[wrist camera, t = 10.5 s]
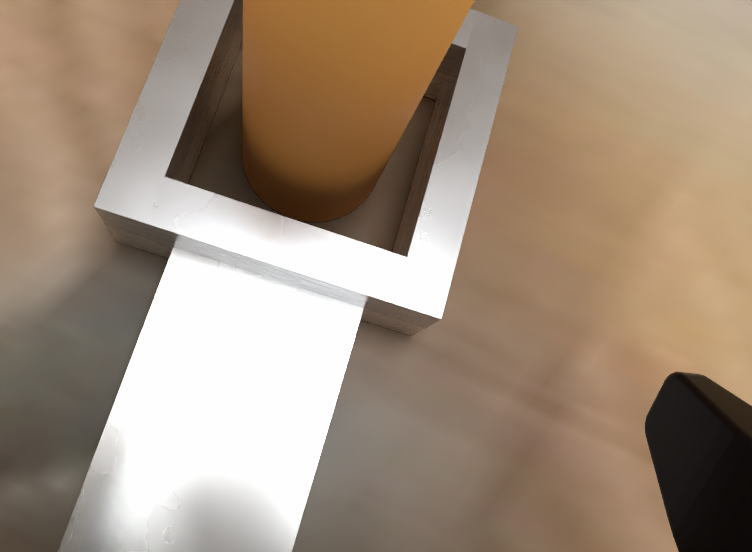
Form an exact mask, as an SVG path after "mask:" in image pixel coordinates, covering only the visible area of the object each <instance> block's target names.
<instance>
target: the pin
mask: <svg viewBox="0 0 752 552" xmlns="http://www.w3.org/2000/svg"><path fill="white" fill-rule="evenodd" d="M474 1H475V0H243V69H242V161H243V167H244V171H245V174H246V177H247V179H248V181H249V183H250V185H251V187H252V188H253V190H254V191H255V193H256V194H257V195H258V196H259V197H260V198H261V200H262V201H264V202H265V203H266V204H267V205H268V206H269V207H271V208H272V209H274V210H275V211H277V212H279V213H281V214H283V215H285V216H287V217H290V218H293V219H296V220H301V221H307V222H323V221H330V220H333V219H337V218H340V217H342V216H344V215H347V214H349V213H350V212H352V211H353V210H355V209H356V208H357V207H359V206H360V205H361V204H362V203H363V202H364V201H365V200H366V199H367V197H368V196H369V195H370V193H371V192H372V190H373V188H374V186H375V184H376V183H377V181H378V179H379V177H380V175H381V173H382V171H383V170H384V168H385V166H386V164H387V162H388V160H389V158H390V157H391V155H392V153H393V151H394V149H395V147H396V145H397V144H398V142H399V140H400V138H401V136H402V134H403V132H404V131H405V129H406V127H407V125H408V123H409V121H410V119H411V118H412V116H413V114H414V112H415V110H416V108H417V107H418V105H419V103H420V101H421V99H422V97H423V95H424V94H425V92H426V90H427V88H428V86H429V84H430V82H431V81H432V79H433V77H434V75H435V73H436V71H437V69H438V68H439V66H440V64H441V62H442V60H443V58H444V56H445V55H446V53H447V51H448V49H449V47H450V45H451V43H452V42H453V40H454V38H455V36H456V34H457V32H458V30H459V29H460V27H461V25H462V23H463V21H464V19H465V17H466V16H467V14H468V12H469V10H470V8H471V6H472V4H473V3H474Z"/></svg>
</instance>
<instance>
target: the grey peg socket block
mask: <svg viewBox="0 0 752 552" xmlns="http://www.w3.org/2000/svg"><path fill="white" fill-rule="evenodd" d="M517 29H518V26H515V25H512V24H510V23H507V22H505V21H502V20H499V19H497V18H494V17H491V16H489V15H486V14H483V13H481V12H478V11H475V10H473V9H470V10H469V12H468V14H467V16H466V17H465V19H464V21H463V23H462V25H461V27H460V29H459V30H458V32H457V34H456V36H455V38H454V40H453V42H452V43H451V45H450V47H449V49H448V51H447V53H446V55H445V56H444V58H443V60H442V62H441V64H440V66H439V68H438V69H437V71H436V73H435V75H434V77H433V79H432V81H431V82H430V84H429V86H428V88H427V90H426V92H425V94H424V95H423V96H425V97H428V98H430V99H433V100H436V102H435V106H434V109H433V113H432V116H431V120H430V123H429V126H428V130H427V133H426V137H425V140H424V144H423V147H422V151H421V154H420V158H419V161H418V164H417V168H416V171H415V175H414V178H413V182H412V185H411V189H410V192H409V195H408V199H407V202H406V206H405V209H404V213H403V216H402V220H401V223H400V226H399V230H398V233H397V237H396V240H395V244H394V247H393V251H392V252H390V251H387V250H384V249H381V248H378V247H375V246H372V245H369V244H366V243H363V242H360V241H357V240H354V239H351V238H348V237H345V236H342V235H339V234H336V233H333V232H330V231H327V230H324V229H321V228H318V227H315V226H312V225H309V224H306V223H303V222H300V221H296V220H293V219H290V218H287V217H284V216H281V215H278V214H275V213H272V212H269V211H266V210H263V209H260V208H257V207H254V206H251V205H248V204H245V203H242V202H239V201H236V200H233V199H230V198H227V197H224V196H221V195H218V194H215V193H212V192H209V191H206V190H203V189H200V188H197V187H194V186H191V185H188V182H189V180H190V177H191V175H192V172H193V169H194V167H195V164H196V161H197V159H198V156H199V154H200V151H201V148H202V146H203V143H204V141H205V138H206V135H207V133H208V130H209V128H210V125H211V122H212V120H213V117H214V115H215V112H216V109H217V107H218V104H219V102H220V99H221V96H222V94H223V91H224V89H225V86H226V83H227V81H228V78H229V76H230V73H231V70H232V68H233V65H234V63H235V60H236V57H237V55H238V52H239V50H240V47H241V44H242V42H243V0H180V2H179V5H178V7H177V9H176V12H175V14H174V17H173V19H172V21H171V24H170V26H169V28H168V31H167V33H166V36H165V38H164V40H163V43H162V45H161V48H160V50H159V52H158V55H157V57H156V59H155V62H154V64H153V67H152V69H151V71H150V74H149V76H148V79H147V81H146V83H145V86H144V88H143V90H142V93H141V95H140V98H139V100H138V102H137V105H136V107H135V110H134V112H133V114H132V117H131V119H130V121H129V124H128V126H127V129H126V131H125V133H124V136H123V138H122V141H121V143H120V145H119V148H118V150H117V152H116V155H115V157H114V160H113V162H112V164H111V167H110V169H109V171H108V174H107V176H106V179H105V181H104V183H103V186H102V188H101V191H100V193H99V195H98V198H97V200H96V202H95V205H94V208H95V209H96V211H97V212H98V214H99V215H100V217H101V219H102V220H103V222H104V223H105V225H106V226H107V228H108V230H109V231H110V233H111V234H112V236H113V237H114V239H115V240H116V242H119V243H122V244H125V245H128V246H131V247H134V248H138V249H141V250H144V251H147V252H150V253H153V254H156V255H160V256H163V257H166V258H169V260H168V263H167V265H166V268H165V271H164V273H163V276H162V279H161V281H160V284H159V286H158V289H157V292H156V294H155V297H154V300H153V302H152V305H151V307H150V310H149V313H148V315H147V318H146V321H145V323H144V326H143V329H142V331H141V334H140V336H139V339H138V342H137V344H136V347H135V350H134V352H133V355H132V357H131V360H130V363H129V365H128V368H127V371H126V373H125V376H124V379H123V381H122V384H121V386H120V389H119V392H118V394H117V397H116V400H115V402H114V405H113V407H112V410H111V413H110V415H109V418H108V421H107V423H106V426H105V428H104V431H103V434H102V436H101V439H100V442H99V444H98V447H97V450H96V452H95V455H94V457H93V460H92V463H91V465H90V468H89V471H88V473H87V476H86V478H85V481H84V484H83V486H82V489H81V492H80V494H79V497H78V500H77V502H76V505H75V507H74V510H73V513H72V515H71V518H70V521H69V523H68V526H67V528H66V531H65V534H64V536H63V539H62V542H61V544H60V547H59V550H58V552H292V549H293V546H294V542H295V539H296V535H297V532H298V529H299V525H300V522H301V518H302V515H303V512H304V508H305V505H306V501H307V498H308V495H309V491H310V488H311V485H312V481H313V478H314V474H315V471H316V468H317V464H318V461H319V457H320V454H321V451H322V447H323V444H324V440H325V437H326V434H327V430H328V427H329V424H330V420H331V417H332V413H333V410H334V407H335V403H336V400H337V396H338V393H339V390H340V386H341V383H342V379H343V376H344V373H345V369H346V366H347V363H348V359H349V356H350V352H351V349H352V346H353V342H354V339H355V335H356V332H357V329H358V325H359V322H360V320H363V321H366V322H369V323H372V324H376V325H379V326H382V327H385V328H388V329H391V330H394V331H398V332H401V333H404V334H407V335H410V336H413V335H415V334H416V333H418V332H420V331H422V330H423V329H425V328H427V327H428V326H430V325H432V324H434V323H435V322H437V321H439V320H441V318H442V314H443V311H444V307H445V303H446V299H447V295H448V292H449V288H450V284H451V280H452V276H453V273H454V269H455V265H456V261H457V257H458V254H459V250H460V246H461V242H462V238H463V235H464V231H465V227H466V223H467V219H468V216H469V212H470V208H471V204H472V200H473V197H474V193H475V189H476V185H477V181H478V178H479V174H480V170H481V166H482V162H483V159H484V155H485V151H486V147H487V143H488V140H489V136H490V132H491V128H492V124H493V121H494V117H495V113H496V109H497V105H498V102H499V98H500V94H501V90H502V86H503V82H504V79H505V75H506V71H507V67H508V63H509V60H510V56H511V52H512V48H513V44H514V41H515V37H516V33H517Z"/></svg>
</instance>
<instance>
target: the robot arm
mask: <svg viewBox="0 0 752 552" xmlns="http://www.w3.org/2000/svg"><path fill="white" fill-rule="evenodd" d="M645 433H646V438H647V442H648V446H649V449H650V453H651V457H652V461H653V464H654V468H655V472H656V475H657V479H658V483H659V487H660V490H661V494H662V498H663V502H664V505H665V509H666V513H667V517H668V520H669V523H670V527H671V530H672V533H673V537H674V539H675V542H676V545H677V548H678V551H679V552H752V406H751V405H749V404H748V403H746V402H744V401H743V400H741V399H740V398H738V397H737V396H735V395H734V394H732V393H731V392H729V391H727V390H726V389H724V388H723V387H721V386H720V385H718V384H717V383H715V382H714V381H712V380H711V379H709V378H707V377H706V376H704V375H700V374H693V373H684V372H674V373H672V374H670V375H669V376H668V377H667V378H666V380H665V381H664V383H663V385H662V387H661V389H660V391H659V393H658V395H657V397H656V399H655V401H654V403H653V405H652V407H651V409H650V411H649V413H648V415H647V417H646V422H645Z"/></svg>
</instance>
